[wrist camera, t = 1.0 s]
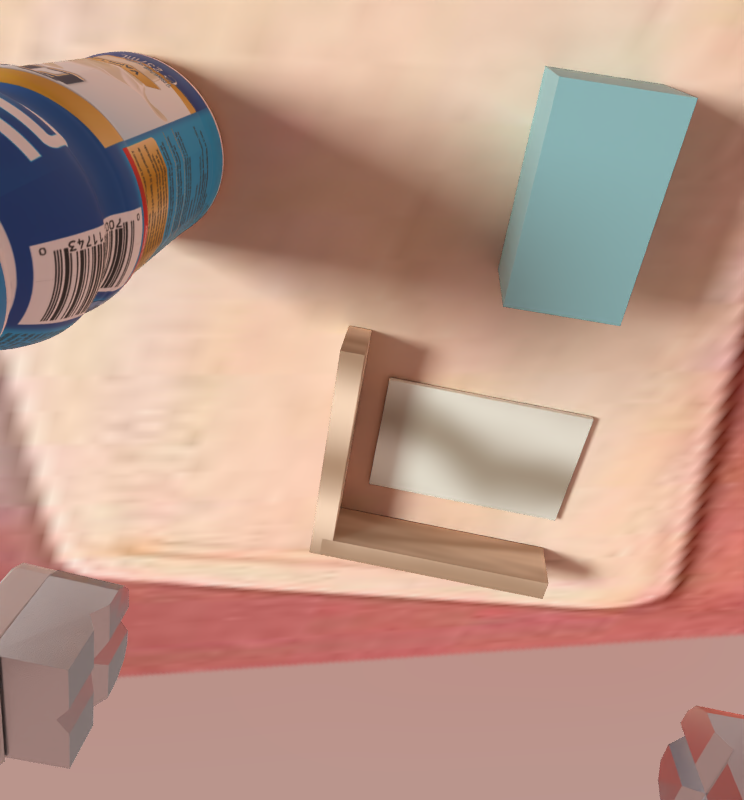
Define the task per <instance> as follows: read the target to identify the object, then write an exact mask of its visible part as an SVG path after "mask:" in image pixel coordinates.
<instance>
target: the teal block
mask: <svg viewBox="0 0 744 800" xmlns="http://www.w3.org/2000/svg"><path fill="white" fill-rule="evenodd" d="M697 99H698V98H697V97H694V96H691V95H689V94H686V93H684V92H681V91H679V90H676V89H674V88H671V87H669V86H666V85H664V84H657V83H651V82H644V81H638V80H631V79H625V78H618V77H612V76H605V75H599V74H593V73H586V72H580V71H573V70H567V69H560V68H554V67H547V66H545V70H544V74H543V78H542V83H541V87H540V91H539V95H538V100H537V104H536V108H535V113H534V117H533V121H532V125H531V130H530V134H529V138H528V143H527V147H526V151H525V156H524V160H523V164H522V168H521V173H520V177H519V181H518V186H517V190H516V194H515V198H514V203H513V207H512V211H511V216H510V220H509V224H508V229H507V233H506V237H505V241H504V246H503V250H502V254H501V259H500V263H499V267H498V273H499V280H500V287H501V295H502V302H503V307H508V308H514V309H521V310H527V311H533V312H539V313H545V314H551V315H557V316H563V317H569V318H575V319H581V320H587V321H593V322H599V323H605V324H611V325H617V326H620V325H621V322H622V319H623V316H624V314H625V311H626V308H627V305H628V302H629V299H630V296H631V293H632V290H633V287H634V284H635V281H636V278H637V275H638V272H639V269H640V266H641V264H642V261H643V258H644V255H645V252H646V249H647V246H648V243H649V240H650V237H651V234H652V231H653V228H654V225H655V222H656V219H657V217H658V214H659V211H660V208H661V205H662V202H663V199H664V196H665V193H666V190H667V187H668V184H669V181H670V178H671V175H672V172H673V170H674V167H675V164H676V161H677V158H678V155H679V152H680V149H681V146H682V143H683V140H684V137H685V134H686V131H687V128H688V125H689V123H690V120H691V117H692V114H693V111H694V108H695V105H696V102H697Z"/></svg>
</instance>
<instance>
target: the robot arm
mask: <svg viewBox="0 0 744 800" xmlns="http://www.w3.org/2000/svg"><path fill="white" fill-rule="evenodd" d="M128 607H129V589H128V588H126V587H125V586H123V585H118V584H114V583H110V582H106V581H102V580H97V579H93V578H89V577H85V576H80V575H76V574H72V573H68V572H64V571H59V570H57V571H56V570H52V569H48V568H43V567H39V566H35V565H31V564H27V563H22V564H20V565H18V566H16V567H14V568H13V569H12V570H11V571H10V572H9V573H8V574H7V575H6V576H5V578H4V579H3V580H2V581H1V582H0V764H2V763H3V762H4V761H5V757H7V758H13V759H19V760H24V761H30V762H36V763H41V764H47V765H52V766H58V767H64V768H70V767H71V765H72V763H73V761H74V759H75V758H76V756H77V754H78V752H79V750H80V748H81V746H82V745H83V743H84V741H85V739H86V737H87V735H88V734H89V732H90V730H91V728H92V726H93V706H95V705H97V704H98V703H100V702H102V701H103V700H105V699H107V698H108V696H109V694H110V692H111V690H112V688H113V686H114V684H115V682H116V680H117V678H118V675H119V672H120V669H121V666H122V663H123V661H124V656H125V651H126V646H127V634H128V630H127V629H126V627H125V626H124V625H123V623H122V622H121V620H122V618H123V616H124V614H125V613H126V611H127V609H128ZM681 725H682V729H683V731H684V735H685V736H684V737H682V738H680V739H678V740H676V741H675V742H672V743H671V744H669V745H668V747H667V749H666V751H665V753H664V755H663V757H662V759H661V762H660V770H659V778H658V784H659V792H660V799H661V800H744V715H740V714H735V713H730V712H725V711H720V710H715V709H710V708H705V707H700V706H695V707H693V708H692V709H690V710H689V711H687V713H686V715H685V717H684V718H683V720H682V722H681Z"/></svg>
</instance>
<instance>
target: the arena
mask: <svg viewBox="0 0 744 800" xmlns="http://www.w3.org/2000/svg"><path fill="white" fill-rule="evenodd" d="M371 331H372V330H368V329H363V328H358V327H353V326H349V327H348V330H347V333H346V336H345V339H344V341H343V344H342V347H341V350H340V356H339V362H338V369H337V375H336V382H335V389H334V395H333V402H332V408H331V415H330V421H329V428H328V434H327V441H326V448H325V454H324V461H323V467H322V474H321V480H320V487H319V493H318V500H317V506H316V513H315V520H314V526H313V533H312V539H311V546H310V552H311V553H316V554H321V555H326V556H331V557H336V558H341V559H346V560H351V561H356V562H361V563H366V564H371V565H376V566H381V567H386V568H391V569H396V570H401V571H406V572H411V573H416V574H421V575H426V576H431V577H436V578H441V579H446V580H451V581H456V582H461V583H466V584H471V585H476V586H481V587H486V588H491V589H496V590H501V591H506V592H511V593H516V594H521V595H526V596H531V597H536V598H541V599H543V596H544V594H545V591H546V588H547V586H548V578H547V571H546V565H545V558H544V551H543V548H541V547H536V546H531V545H526V544H521V543H516V542H511V541H506V540H501V539H495V538H490V537H485V536H480V535H475V534H470V533H465V532H460V531H455V530H450V529H445V528H440V527H435V526H430V525H425V524H420V523H415V522H410V521H405V520H400V519H395V518H390V517H385V516H380V515H375V514H370V513H365V512H360V511H355V510H350V509H345V508H341V503H342V497H343V491H344V485H345V480H346V474H347V468H348V463H349V457H350V451H351V446H352V440H353V434H354V428H355V423H356V417H357V411H358V406H359V400H360V394H361V389H362V383H363V377H364V371H365V366H366V360H367V354H368V349H369V343H370V337H371ZM592 422H593V417H591V416H586V415H581V414H576V413H571V412H565V411H560V410H555V409H550V408H545V407H540V406H535V405H530V404H525V403H519V402H514V401H509V400H504V399H499V398H494V397H489V396H484V395H479V394H473V393H468V392H463V391H458V390H453V389H448V388H443V387H438V386H433V385H427V384H422V383H417V382H412V381H407V380H402V379H397V378H392V377H390V380H389V385H388V390H387V395H386V400H385V405H384V410H383V415H382V420H381V425H380V430H379V435H378V441H377V446H376V451H375V456H374V461H373V466H372V471H371V476H370V481H369V484H373V485H378V486H383V487H388V488H393V489H398V490H403V491H408V492H413V493H418V494H423V495H428V496H433V497H438V498H443V499H449V500H454V501H459V502H464V503H469V504H474V505H479V506H484V507H489V508H494V509H499V510H504V511H509V512H514V513H519V514H524V515H529V516H534V517H539V518H544V519H549V520H554V521H555V520H556V517H557V514H558V512H559V509H560V507H561V504H562V501H563V499H564V496H565V493H566V491H567V488H568V486H569V483H570V480H571V478H572V475H573V472H574V470H575V467H576V464H577V462H578V459H579V457H580V454H581V451H582V449H583V446H584V443H585V441H586V438H587V436H588V433H589V430H590V428H591V425H592Z"/></svg>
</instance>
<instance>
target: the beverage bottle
mask: <svg viewBox="0 0 744 800" xmlns="http://www.w3.org/2000/svg"><path fill="white" fill-rule="evenodd" d="M223 167H224V154H223V145H222V140H221V135H220V132H219V128H218V126H217V123H216V120H215V118H214V116H213V114H212V112H211V110H210V108H209V106H208V105H207V103H206V101H205V100H204V98H203V97H202V96H201V94H200V93H199V92H198V90H197V89H196V88H195V87H194V86H193V85H192V84H191V83H190V82H189V81H188V80H187V79H186V78H185V77H184V76H183V75H181V74H180V73H179V72H178V71H176V70H175V69H173V68H172V67H170V66H169V65H167V64H165V63H163V62H161V61H159V60H157V59H155V58H152V57H150V56H147V55H143V54H139V53H133V52H109V53H102V54H97V55H93V56H90V57H87V58H84V59H76V60H68V61H60V62H52V63H43V64H35V65H27V66H15V65H9V64H0V350H6V349H13V348H19V347H23V346H27V345H31V344H35V343H38V342H41V341H44V340H46V339H49V338H51V337H53V336H55V335H57V334H59V333H61V332H63V331H64V330H66V329H67V328H69V327H70V326H71V325H73V324H74V323H75V322H76V321H77V320H78V319H79V318H80V317H81V316H82V315H83V314H84V313H86V312H89V311H91V310H93V309H94V308H96V307H98V306H100V305H101V304H103V303H104V302H106V301H107V300H109V299H110V298H111V297H113V296H114V295H115V294H116V293H117V292H118V291H119V290H120V289H121V288H122V287H123V286H124V285H125V284H126V283H127V282H128V280H129V279H130V278H131V276H132V275H133V273H135V272H136V271H137V270H138V269H139V268H140V267H142V266H143V265H144V264H145V263H146V262H147V261H149V260H150V259H151V258H152V257H153V256H155V255H156V254H157V253H158V252H159V251H160V250H162V249H163V248H164V247H165V246H166V245H168V244H169V243H170V242H171V241H172V240H174V239H175V238H176V237H177V236H178V235H180V234H181V233H182V232H183V231H185V230H187V229H188V228H189V227H191V226H192V225H193V224H195V223H196V222H197V221H198V220H199V219H200V218H201V217H202V216H203V215H204V214H205V213H206V212H207V211H208V209H209V208H210V207H211V205H212V203H213V202H214V200H215V198H216V196H217V193H218V191H219V188H220V185H221V181H222V176H223Z"/></svg>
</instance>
